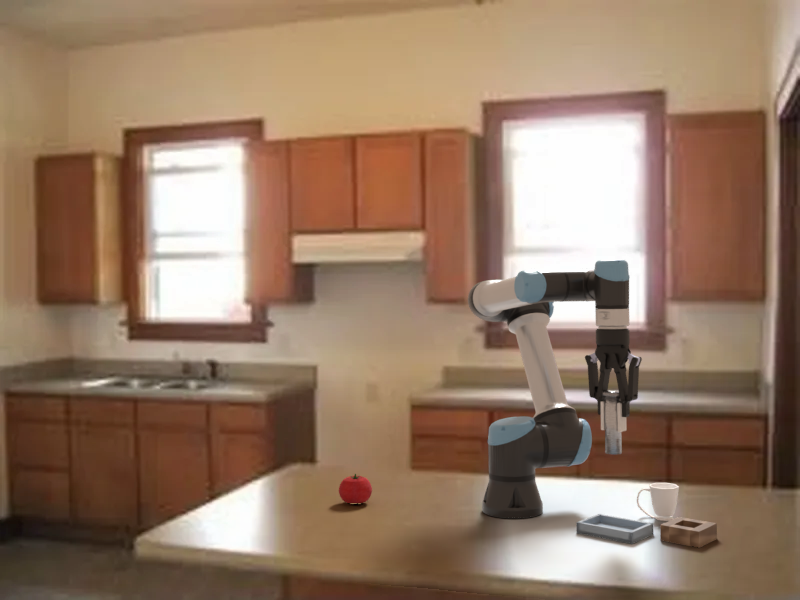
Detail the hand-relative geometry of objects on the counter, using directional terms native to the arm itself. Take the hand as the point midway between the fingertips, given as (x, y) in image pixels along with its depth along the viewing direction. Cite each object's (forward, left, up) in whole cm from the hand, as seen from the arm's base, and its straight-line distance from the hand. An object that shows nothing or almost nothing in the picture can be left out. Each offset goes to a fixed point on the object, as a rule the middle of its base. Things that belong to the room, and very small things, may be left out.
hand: (613, 430), depth 210 cm
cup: (+1, +19, -24) cm, 31 cm away
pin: (0, 0, -5) cm, 5 cm away
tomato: (-67, -17, -24) cm, 73 cm away
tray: (0, 0, -24) cm, 24 cm away
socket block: (+15, +6, -24) cm, 29 cm away
